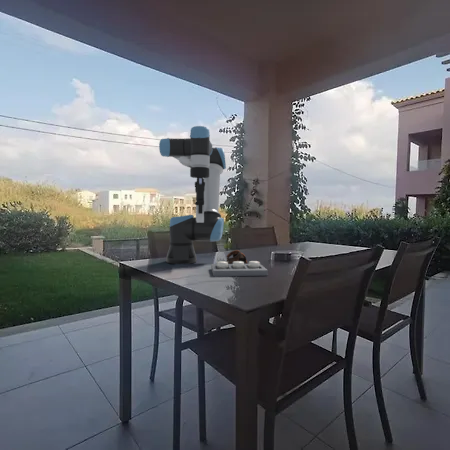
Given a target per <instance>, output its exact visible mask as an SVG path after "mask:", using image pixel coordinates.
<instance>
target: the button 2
mask: <svg viewBox="0 0 450 450" xmlns="http://www.w3.org/2000/svg"><path fill="white" fill-rule="evenodd" d="M248 264H249V268H252V269H258V268H259V267H260V264H261V262H260V261H257V260H251V261H248Z"/></svg>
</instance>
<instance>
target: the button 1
mask: <svg viewBox="0 0 450 450" xmlns="http://www.w3.org/2000/svg"><path fill="white" fill-rule="evenodd" d="M216 264H217V268H218V269H227V268H228V262H227V261H225V260H224V261H216Z"/></svg>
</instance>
